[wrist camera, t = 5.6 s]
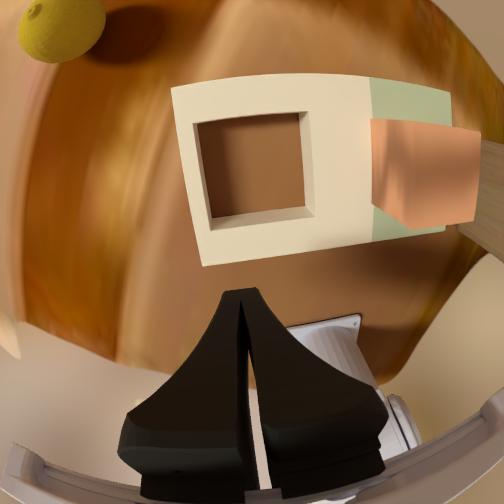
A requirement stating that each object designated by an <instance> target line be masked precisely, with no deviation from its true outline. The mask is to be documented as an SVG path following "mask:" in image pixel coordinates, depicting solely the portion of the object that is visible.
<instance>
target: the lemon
mask: <svg viewBox="0 0 504 504" xmlns="http://www.w3.org/2000/svg"><path fill="white" fill-rule="evenodd" d="M105 22H106V12H105V8H104V6H103V4H102V2H101V0H36V1H34V2H33V3H32V5H31V6H30V7H29V8H28V9H27V11H26V12H25V14H24V16H23V18H22V20H21V23H20V26H19V32H18V35H19V42H20V45H21V47H22V49H23V50H24V51H25V52H26V53H27V54H29V55H30V56H31V57H33V58H34V59H36V60H39V61H42V62H46V63H63V62H67V61H70V60H73V59H76V58H78V57H79V56H81V55H83V54H84V53H86V52H87V51H88V50H89V49H91V48H92V47H93V45H94V44H95V43H96V42H97V41H98V39H99V38H100V36H101V34H102V32H103V30H104V27H105Z"/></svg>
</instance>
